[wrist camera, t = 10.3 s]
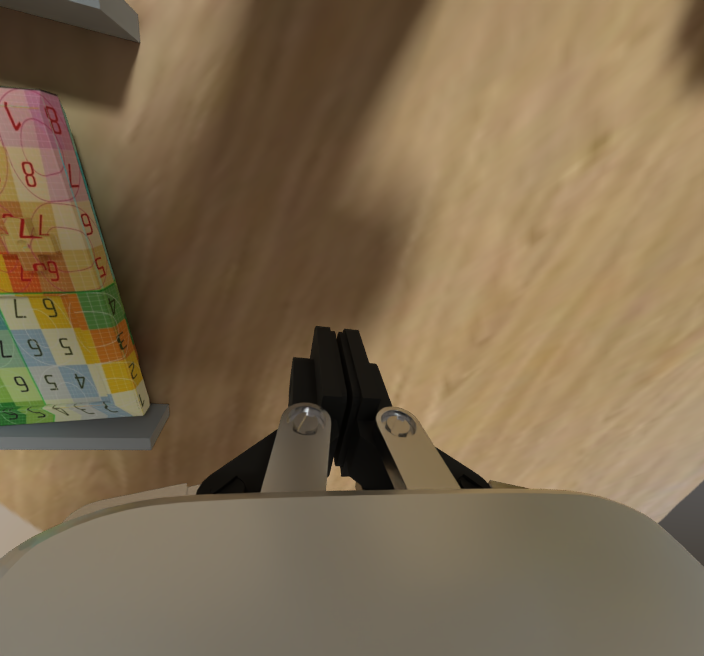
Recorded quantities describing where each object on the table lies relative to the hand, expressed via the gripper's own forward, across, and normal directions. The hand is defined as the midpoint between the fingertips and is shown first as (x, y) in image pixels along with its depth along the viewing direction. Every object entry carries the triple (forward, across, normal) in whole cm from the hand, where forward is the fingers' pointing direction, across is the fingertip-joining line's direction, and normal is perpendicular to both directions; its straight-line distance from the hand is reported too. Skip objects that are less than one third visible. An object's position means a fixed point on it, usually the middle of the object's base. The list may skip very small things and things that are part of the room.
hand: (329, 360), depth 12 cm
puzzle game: (+14, +19, +4) cm, 23 cm away
